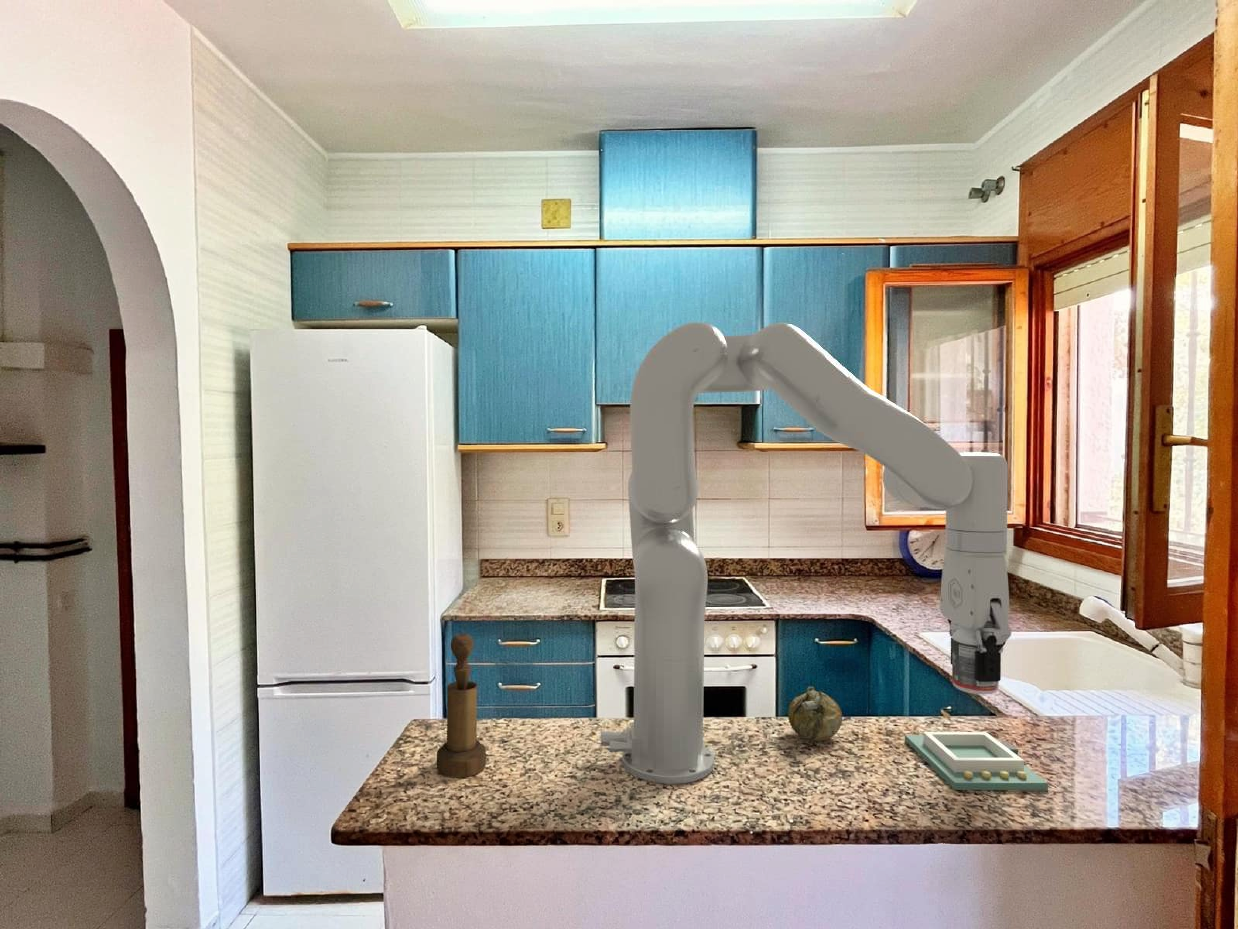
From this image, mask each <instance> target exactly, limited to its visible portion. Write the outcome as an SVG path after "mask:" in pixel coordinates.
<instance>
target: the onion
mask: <svg viewBox="0 0 1238 929" xmlns="http://www.w3.org/2000/svg"><path fill="white" fill-rule="evenodd" d="M788 706H789V707H788V716H787V719H788V722H789V725H790V726H791V729H792V730H793V732H794V733H795V735H798V737H800V738H803V739H804V740H805V741H812V742H823V741H824V742H825V741H827V740H829V739H832V738H833V737H834V736H835V735H836V734H837V733H838V732H839V731H840V729H841V726H842V724H843V714H842V710H841V707H840V706H839V704H838V703H837V702H836V701H835V700H834V699H833V698H831V696H829V695H827V694H825V693H824V692H822V691H821V690H819V691H816V690H815V688H814V687H813V686H808V687H807V689H806V692H805V693H804V694H800V695H799V696H796V697H794V699H793V700H792V701H791V702H790V704H789V705H788Z"/></svg>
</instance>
